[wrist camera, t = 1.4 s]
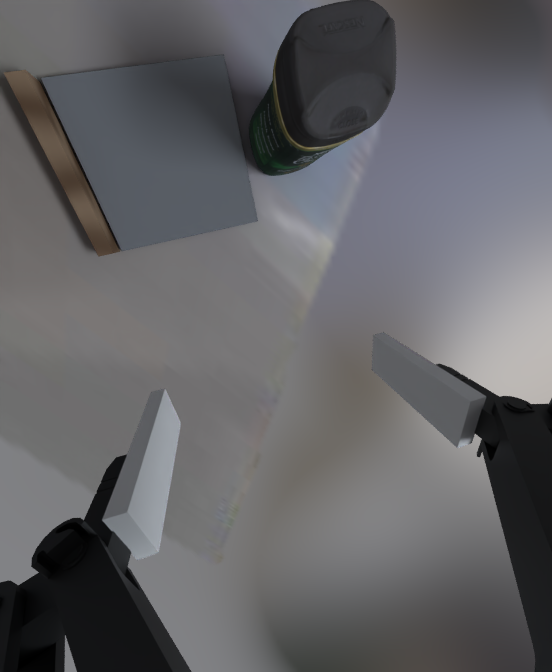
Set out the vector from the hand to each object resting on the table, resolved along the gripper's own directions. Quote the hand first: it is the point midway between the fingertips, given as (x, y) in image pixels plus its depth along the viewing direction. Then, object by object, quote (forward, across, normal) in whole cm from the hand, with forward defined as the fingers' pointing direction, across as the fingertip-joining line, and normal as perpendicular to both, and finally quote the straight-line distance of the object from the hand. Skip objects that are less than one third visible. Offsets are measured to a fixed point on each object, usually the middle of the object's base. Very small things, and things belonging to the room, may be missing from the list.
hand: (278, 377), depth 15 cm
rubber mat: (+28, -6, +17) cm, 34 cm away
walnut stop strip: (+28, -17, +17) cm, 37 cm away
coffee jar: (+29, +10, +18) cm, 35 cm away
